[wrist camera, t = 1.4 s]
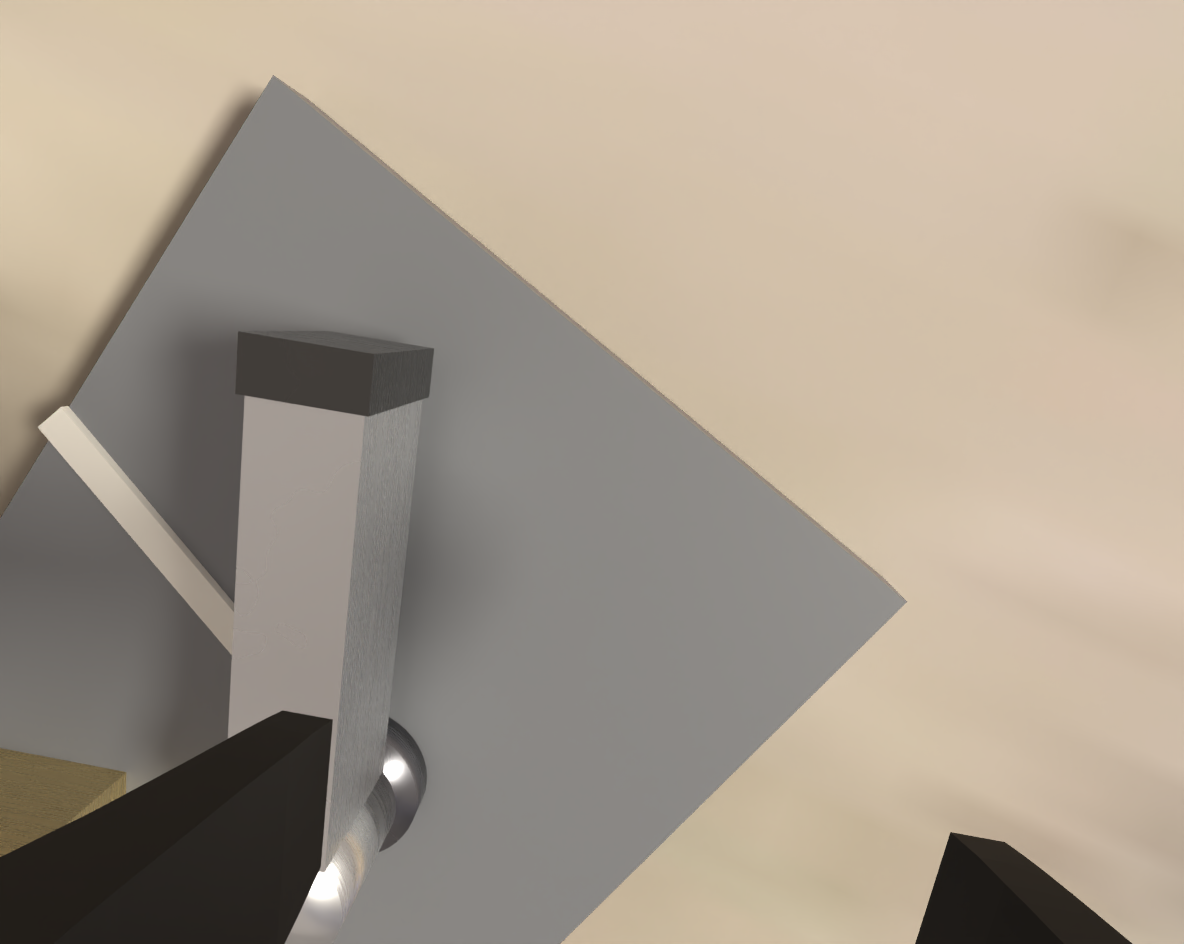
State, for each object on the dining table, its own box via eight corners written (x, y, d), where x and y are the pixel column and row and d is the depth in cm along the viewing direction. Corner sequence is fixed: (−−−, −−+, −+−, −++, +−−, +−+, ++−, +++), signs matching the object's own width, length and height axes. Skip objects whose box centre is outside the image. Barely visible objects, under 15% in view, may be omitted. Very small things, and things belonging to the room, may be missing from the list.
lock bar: (391, 858, 16) (333, 983, 13) (278, 836, 16) (194, 956, 13) (448, 350, 14) (393, 357, 11) (314, 328, 14) (219, 328, 11)
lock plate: (883, 577, 17) (910, 605, 15) (376, 1087, 21) (354, 1151, 19) (299, 92, 15) (258, 63, 14) (-112, 746, 20) (-181, 784, 18)
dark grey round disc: (455, 766, 17) (446, 787, 16) (373, 858, 18) (361, 882, 17) (339, 678, 17) (324, 695, 16) (260, 775, 17) (242, 796, 17)
